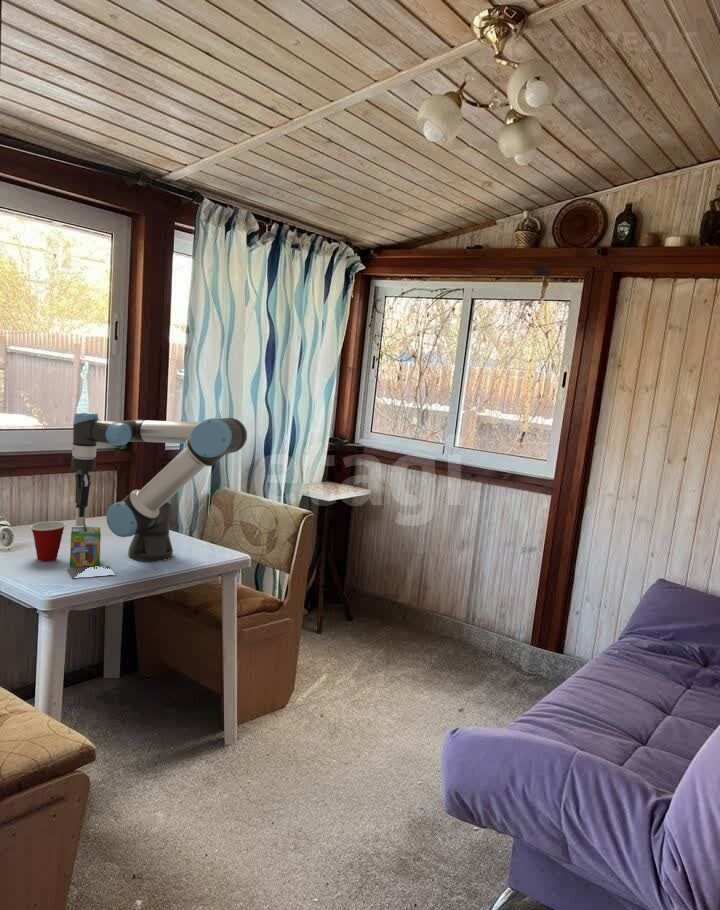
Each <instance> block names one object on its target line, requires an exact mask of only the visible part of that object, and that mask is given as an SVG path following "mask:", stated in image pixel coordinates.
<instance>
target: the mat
mask: <svg viewBox="0 0 720 910" xmlns="http://www.w3.org/2000/svg"><path fill="white" fill-rule="evenodd" d="M100 566H101V565H100ZM100 566H99V567H100ZM103 566H104V567H105V566H106V567H105V569H106V568H107V569H108V568H109V569H110V568H111V566H110V565H103ZM93 567H94V569H95V566H93ZM104 567H103V568H104ZM88 568H89V567H88ZM85 569H87V567H68V568H66V571H67V570H68V571H67V573H68V572H69V573H70V574H69V573H68V574H69V576H70V575H71V576H72V577H71V576H70V577H71V579H72V578H74V577H76V576H77V575H78V573H79V574H80V573H82V572H83V571H85ZM96 569H97V567H96Z"/></svg>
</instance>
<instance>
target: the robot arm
mask: <svg viewBox="0 0 720 910" xmlns="http://www.w3.org/2000/svg"><path fill="white" fill-rule="evenodd" d="M73 417H74V418H73V423H72V427H73V428H72V429H73V430H72V431H73V432H72V435H73V437H72V447H70V450H71V454H72V455H71V456H72V458H71V466H70V467H71V469H73V470H76V471H77V473H76V474H75V475H74V477H75V500H74V501H75V503H76V505H75V509H76V513H75V527H84V523H83V519H84V522H85V523H86V512H87V511H86V509H87V507H88V506H89V505H88V503H89V494H90V493H89V492H90V486H91V482H92V481H91V475H90V473H89V471H93V470H95V469H96V457H97V446H98V445H97V443H102V444H109V445H113V446H126V445H127V443H129V442H131V443H132V442H133V443H134V442H135V443H137V442H139V443H141V442H142V443H165V444H166V443H168V444H185V445H186V447H184V448H183V449H182V450H181V451H180V452H179V453H178V454H177V455H176V456H175V457H174V458H173V459H172V460H170V462H168V464H166V465H165V466H164V468H162V469H161V470H160V471H159V472H158V473H157V474H156V475H155V476H154V477H152V479H150V481H148V482H147V483H146V484H145V485H144V486H143V487H142V488H141V489H133V490H132V491H130V493H129V494H128V495H126V496H125V498H123V499H122V500H121V501H117V502H115V503H113V504H111V505H110V506H109V507H108V508H107V511H106V524H107V527H108V529H109V530H110V531H111V533H113V535H115V536H117V537H120V538H127V537H132V536H133V537H132V539H131V542H130V545H129V547H128V553H127V554H128V555H127V557H129V558H130V559H133V560H136V561H140V560H142V561H141V562H158V561H157V560H163V561H165V560H164V559H167V560H169V559H168V558H170V559H172V558H173V554H174V553H173V552H174V549H173V546H172V545H173V544H172V541H171V538H170V525H171V524H170V523H171V512H172V498H173V497H174V496H175V494H177V493H178V491H180V490H181V489H182V488H183V487H184V486H186V485H187V483H189V482H190V481H191V480H192V479H193V478H194V477H195V476H196V475H198V474H199V472H201V471H202V470H203V469H204V468H205V467H212V466H214V465H215V464H216V463H217V462H218V461H220V460H221V459H222V458H223V457H225V455H228V454H233V453H236V452H238V451H240V450H241V449H242V448H243V447H244V446H245V445H246V442H247V440H248V432H247V428H246V426H245V425H244V424H243V422H241V421H240V420H239V419H237V418H234V417H225V418H224V417H223V418H208V419H204V420H202V421H177V420H175V421H173V420H171V421H170V420H149V419H148V420H145V419H140V418H139V419H130V420H116V421H115V420H113V421H111V420H101V419H99V414H98V413H97V412H94V411H93V412H92V411H77V412H75V413H74V416H73ZM171 557H172V558H171Z"/></svg>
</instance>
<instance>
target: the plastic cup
mask: <svg viewBox="0 0 720 910" xmlns="http://www.w3.org/2000/svg"><path fill="white" fill-rule="evenodd" d="M66 526H67V525H66V523H65V522H63V521H57V520H53V521H52V520H51V521H40V522H36V523H33V524H31V525H30V526H29V527H30V529H31V531H32V535H33V539H34V540H33V541H34V546H35V551H36V553H35V554H36V558H37V560H38V561H39V560H40V561H39V562H52V561H53V560H54V561H56V560H57V558H58V554H59V550H60V547H61V542H62V538H63V537H62V536H63V534H64V530H65V527H66ZM54 561H53V562H54Z"/></svg>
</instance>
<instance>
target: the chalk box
mask: <svg viewBox="0 0 720 910" xmlns="http://www.w3.org/2000/svg"><path fill="white" fill-rule="evenodd" d="M83 523H84V526H71V533H70V552H69V554H70V555H69V568H79V567H80V566H81V567H82V566H93V567H95V566H101V565H100V563H101V561H100V559H101V558H100V557H101V537H102V536H101V535H102V534H101V528H100V527H99V526H98V527H97V526H87V525H86V521H85V522H84V519H83Z"/></svg>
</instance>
